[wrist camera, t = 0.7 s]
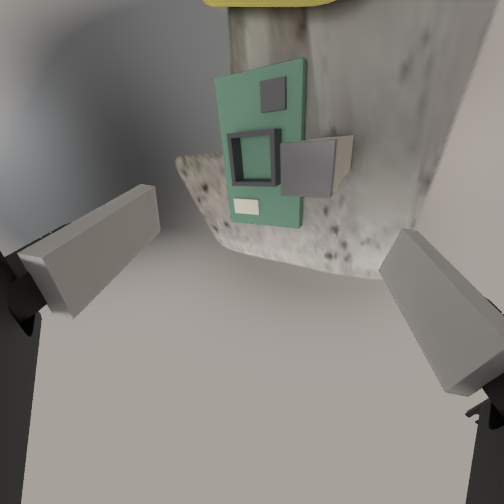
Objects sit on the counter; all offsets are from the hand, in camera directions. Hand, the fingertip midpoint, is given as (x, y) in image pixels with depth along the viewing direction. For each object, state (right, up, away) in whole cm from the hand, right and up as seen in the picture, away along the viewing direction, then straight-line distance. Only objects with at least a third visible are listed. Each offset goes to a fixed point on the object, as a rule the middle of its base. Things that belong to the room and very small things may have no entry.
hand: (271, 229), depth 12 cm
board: (+1, +13, +20) cm, 24 cm away
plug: (+9, +11, +16) cm, 22 cm away
